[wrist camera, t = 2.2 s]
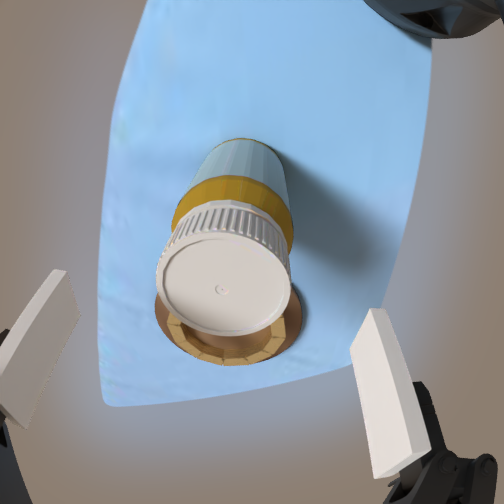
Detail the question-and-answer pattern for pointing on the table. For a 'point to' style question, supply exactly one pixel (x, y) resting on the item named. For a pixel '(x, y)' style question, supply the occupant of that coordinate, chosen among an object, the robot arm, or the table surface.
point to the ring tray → (234, 337)
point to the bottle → (230, 243)
